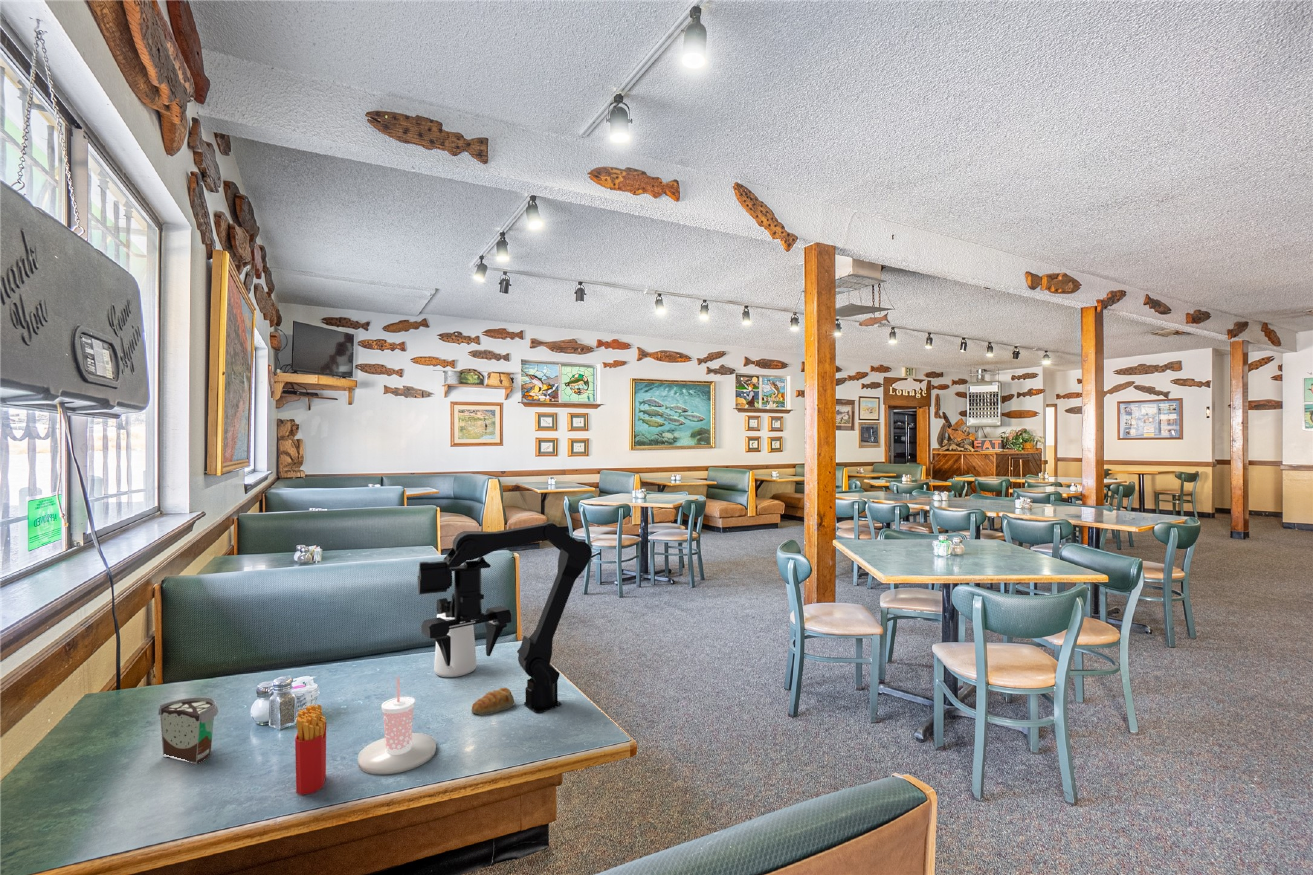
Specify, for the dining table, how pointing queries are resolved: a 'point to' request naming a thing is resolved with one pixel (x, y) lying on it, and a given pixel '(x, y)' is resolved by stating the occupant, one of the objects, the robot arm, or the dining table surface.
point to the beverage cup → (398, 723)
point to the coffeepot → (457, 652)
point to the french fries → (310, 750)
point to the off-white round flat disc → (396, 756)
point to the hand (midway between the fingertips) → (468, 660)
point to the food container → (188, 728)
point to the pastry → (493, 702)
